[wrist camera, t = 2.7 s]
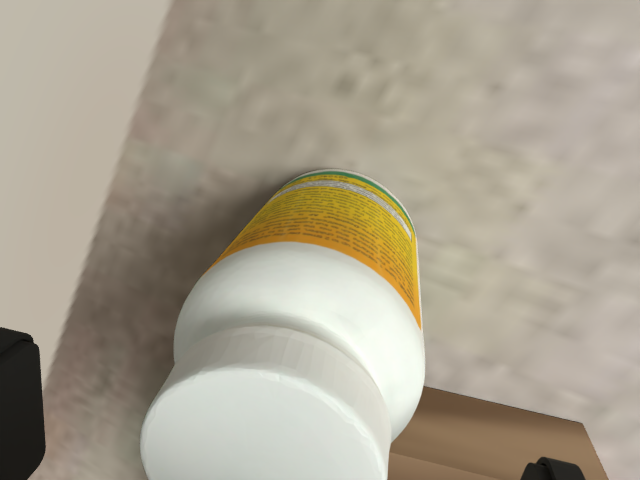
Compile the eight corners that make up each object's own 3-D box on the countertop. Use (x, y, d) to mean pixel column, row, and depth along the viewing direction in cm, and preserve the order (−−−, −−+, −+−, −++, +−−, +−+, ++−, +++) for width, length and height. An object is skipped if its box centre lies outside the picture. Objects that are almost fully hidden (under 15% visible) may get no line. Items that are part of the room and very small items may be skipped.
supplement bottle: (421, 308, 17) (440, 605, 8) (273, 313, 18) (146, 579, 9) (412, 156, 15) (425, 326, 6) (246, 171, 16) (51, 334, 7)
